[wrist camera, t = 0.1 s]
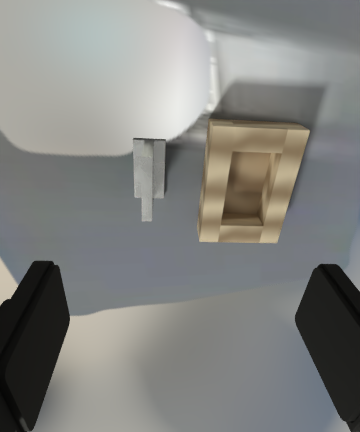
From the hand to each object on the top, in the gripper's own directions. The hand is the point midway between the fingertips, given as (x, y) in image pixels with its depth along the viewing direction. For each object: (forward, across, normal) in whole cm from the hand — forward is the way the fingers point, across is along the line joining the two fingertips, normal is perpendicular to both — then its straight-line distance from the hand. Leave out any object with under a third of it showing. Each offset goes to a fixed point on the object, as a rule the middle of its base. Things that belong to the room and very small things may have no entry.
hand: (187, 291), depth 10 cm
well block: (+37, -13, +11) cm, 41 cm away
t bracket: (+37, +3, +10) cm, 38 cm away
